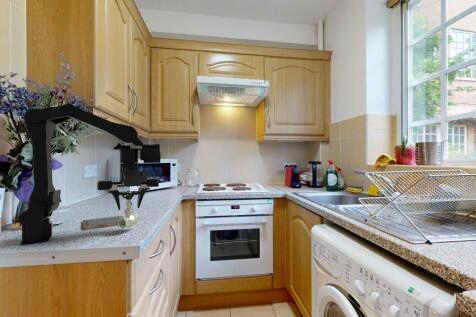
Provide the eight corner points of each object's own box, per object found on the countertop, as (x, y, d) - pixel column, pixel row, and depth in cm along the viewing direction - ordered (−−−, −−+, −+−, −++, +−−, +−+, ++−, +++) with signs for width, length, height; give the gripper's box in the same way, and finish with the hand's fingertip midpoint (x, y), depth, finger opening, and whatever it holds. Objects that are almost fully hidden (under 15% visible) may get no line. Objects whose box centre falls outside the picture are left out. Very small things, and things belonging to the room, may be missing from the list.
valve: (143, 225, 84) (143, 190, 84) (130, 230, 77) (130, 193, 78) (127, 223, 86) (128, 190, 86) (113, 228, 79) (113, 192, 79)
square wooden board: (83, 230, 83) (83, 227, 83) (82, 221, 95) (82, 219, 95) (126, 224, 91) (126, 221, 91) (121, 217, 103) (121, 215, 103)
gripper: (99, 163, 70) (99, 217, 70) (163, 163, 80) (163, 209, 80) (97, 163, 79) (96, 210, 79) (154, 163, 89) (154, 204, 89)
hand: (129, 209), depth 82 cm, fingers closed on valve, 6 cm apart
